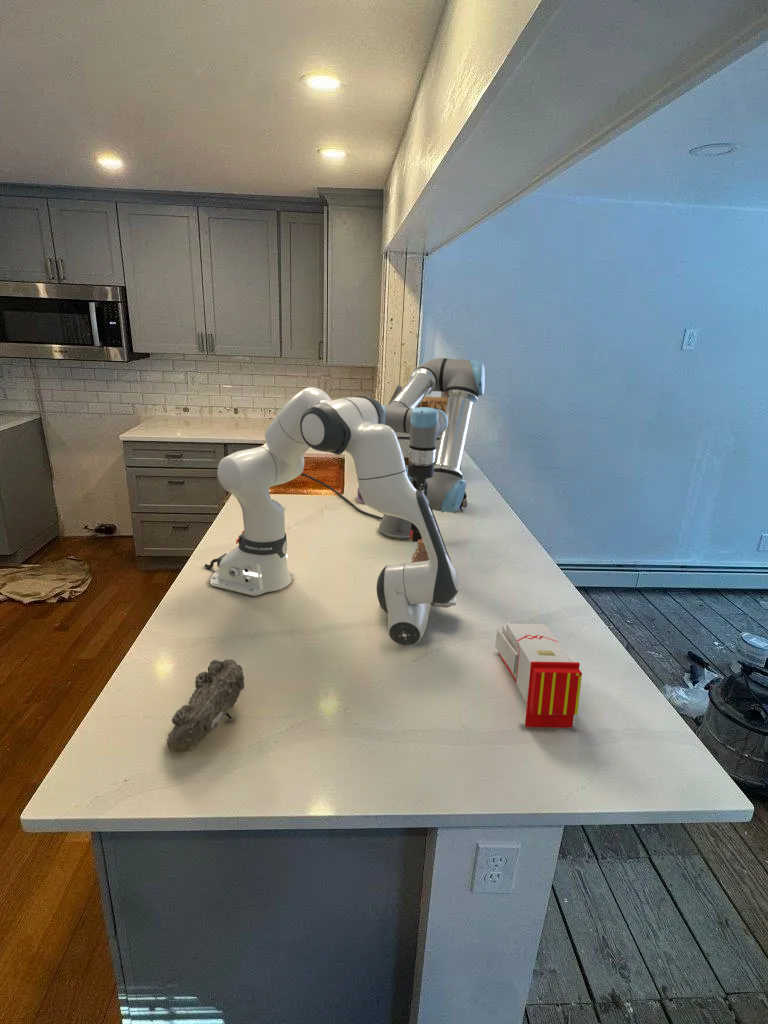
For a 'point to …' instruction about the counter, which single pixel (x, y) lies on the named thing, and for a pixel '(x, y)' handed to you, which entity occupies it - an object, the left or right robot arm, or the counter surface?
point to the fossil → (206, 705)
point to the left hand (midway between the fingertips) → (420, 577)
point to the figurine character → (463, 502)
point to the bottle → (420, 552)
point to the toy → (541, 674)
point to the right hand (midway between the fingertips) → (416, 538)
